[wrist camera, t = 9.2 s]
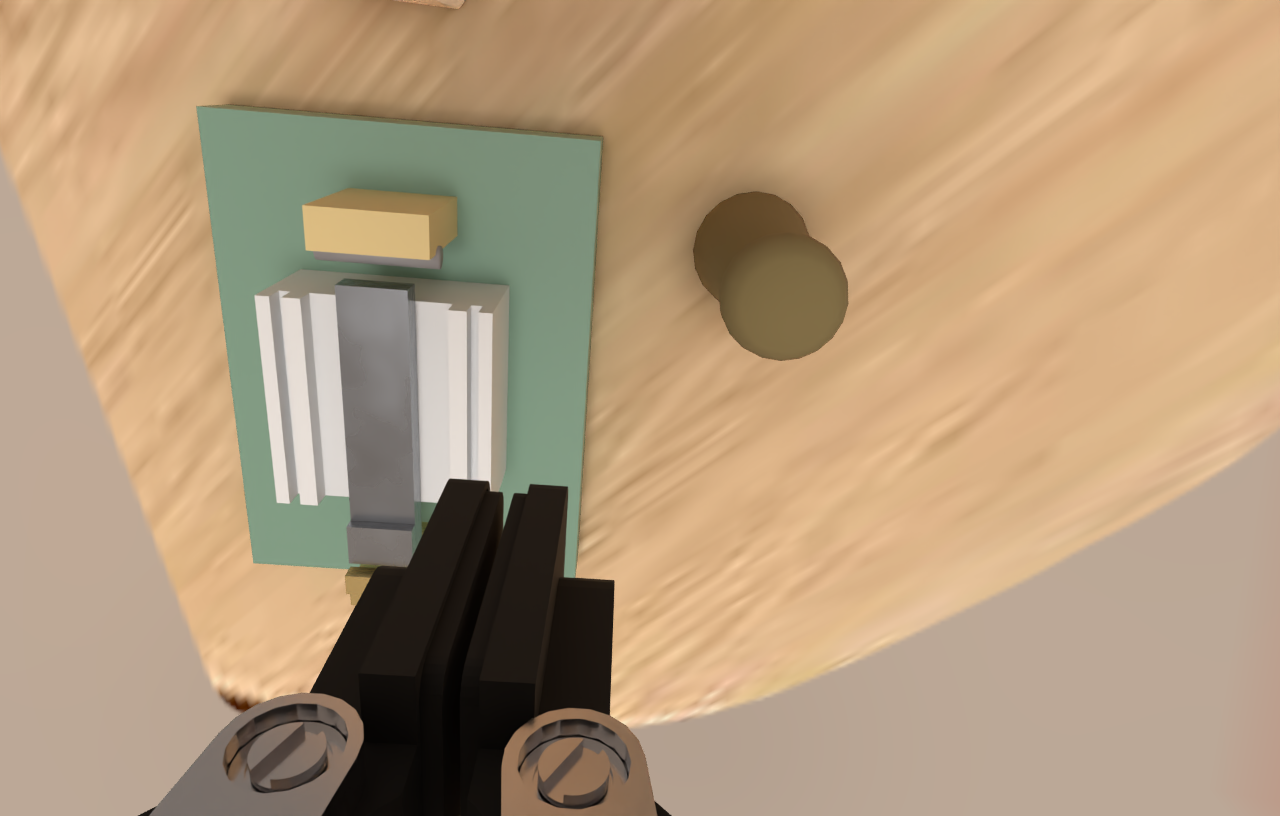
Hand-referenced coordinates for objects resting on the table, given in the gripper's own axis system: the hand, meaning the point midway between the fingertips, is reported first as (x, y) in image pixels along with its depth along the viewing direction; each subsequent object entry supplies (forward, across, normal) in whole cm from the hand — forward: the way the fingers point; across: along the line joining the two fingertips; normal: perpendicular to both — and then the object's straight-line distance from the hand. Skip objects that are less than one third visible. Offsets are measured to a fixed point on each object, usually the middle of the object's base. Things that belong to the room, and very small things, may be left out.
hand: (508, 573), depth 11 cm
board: (+31, +9, +8) cm, 33 cm away
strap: (+24, +9, +9) cm, 27 cm away
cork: (+31, -8, +1) cm, 32 cm away
